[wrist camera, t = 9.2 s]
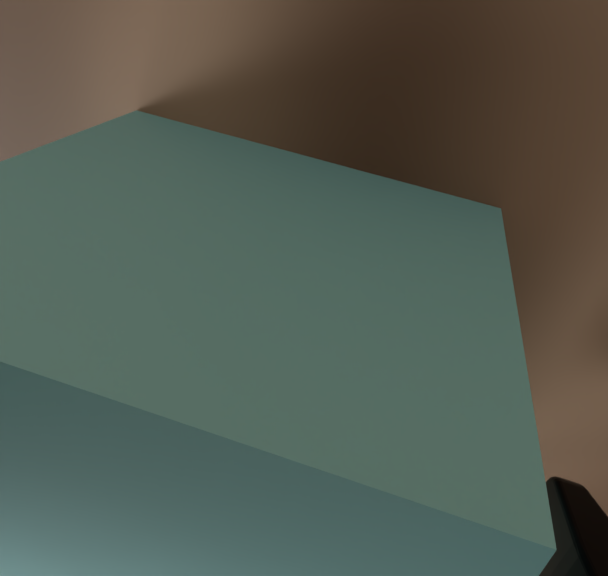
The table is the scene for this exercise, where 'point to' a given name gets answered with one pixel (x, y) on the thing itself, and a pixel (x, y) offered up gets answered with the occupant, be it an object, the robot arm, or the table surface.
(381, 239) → the teal cube
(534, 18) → the walnut board
